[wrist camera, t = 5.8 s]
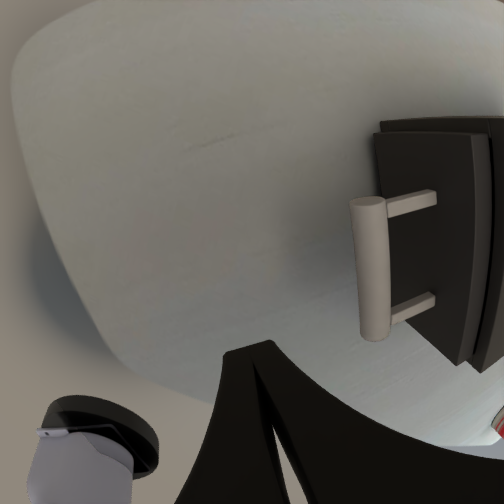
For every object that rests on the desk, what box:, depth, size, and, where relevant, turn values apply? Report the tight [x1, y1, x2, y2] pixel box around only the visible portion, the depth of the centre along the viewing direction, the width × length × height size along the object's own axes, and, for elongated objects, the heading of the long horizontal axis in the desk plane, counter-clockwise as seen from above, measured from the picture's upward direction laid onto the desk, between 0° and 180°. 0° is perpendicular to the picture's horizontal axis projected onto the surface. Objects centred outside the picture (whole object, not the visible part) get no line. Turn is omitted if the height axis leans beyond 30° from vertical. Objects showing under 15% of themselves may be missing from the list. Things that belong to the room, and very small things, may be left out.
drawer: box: [349, 131, 495, 366], centre depth 13 cm, size 17×10×7 cm, turn 103°
